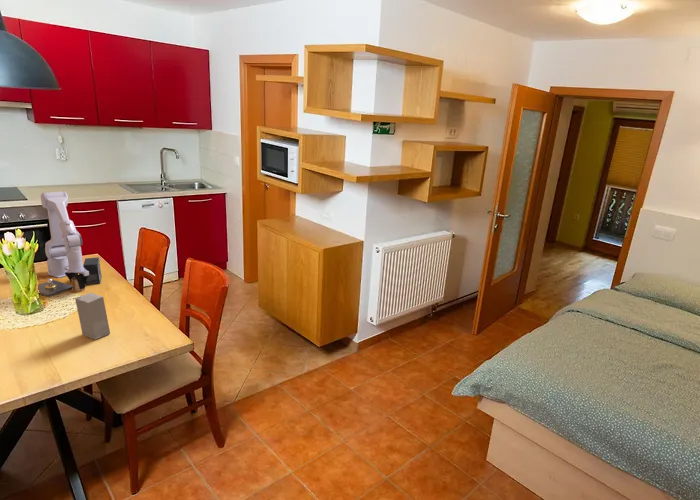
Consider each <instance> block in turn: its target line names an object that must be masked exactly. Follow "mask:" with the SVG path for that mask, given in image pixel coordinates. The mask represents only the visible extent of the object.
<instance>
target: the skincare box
mask: <svg viewBox="0 0 700 500" xmlns="http://www.w3.org/2000/svg"><path fill="white" fill-rule="evenodd" d="M74 299H75V305H76V309H77V314H78V319H79V324H80V329H81V334H82V335H83V336H86V337H88V338H89V339H90V340H91V339H92V340H94V341H95V340H98V339H101V338H103V337H106V336H108V335H110V334H111V331H110V330H111V329H110V326H109V325H110V324H109V319H108V315H107V308H106V306H105V305H106V303H105V299H104V296H102V295H99V294H96V293H94V292H89V293H85V294H83V295H80V296H77V297H75V298H74Z"/></svg>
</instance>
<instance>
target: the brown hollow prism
mask: <svg viewBox="0 0 700 500" xmlns="http://www.w3.org/2000/svg"><path fill="white" fill-rule="evenodd" d="M71 282H72V285H71V286H72V289H71V290H72V292H74V293H81V292H84V291H85V290H86V287H85V288H83V289H80V288H79V284H78V281H77V279H76V278H75V277H72V278H71ZM71 282H70V283H71Z"/></svg>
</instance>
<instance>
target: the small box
mask: <svg viewBox="0 0 700 500" xmlns="http://www.w3.org/2000/svg"><path fill="white" fill-rule="evenodd" d="M100 261H101V260H100V257H89V258H85V259H84V262H83V267H84V268H85V269H86V270H87V271H89V276H88V278H87V280H86V285H85V286H91V285H101V283H102V282H101V280H102V276H103V275H102V271H101V262H100Z"/></svg>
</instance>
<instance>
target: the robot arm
mask: <svg viewBox="0 0 700 500" xmlns="http://www.w3.org/2000/svg"><path fill="white" fill-rule="evenodd" d="M40 200H41V201H40V202H41V206H42V208H44V209H46V210H47V215H48V223H49V232H50V240H48V241H46V242H45V244H44V245H45V247H44V252H45V256H46V257H47V260H46V265H47V269H48V270H47V273H46V275H49V276H51V277H54V278H58V279H59V278H63V277H67V278H68V280H69V282H70V285H71V286H72V282H71V278H72V277H75V278H76V279H77V281H78V284H79V288H80V289H83V288H85V289H86V286H87V285H86V280H87V278H88V276H89V271H87V270H86V269H85V268H84V267H83V264H84V262H83V254H82V247H81V246H83V239H82V235H81V233H79V231H78V230H77V229H76V226H75V224H74V221H73V220H71V219H70V217H69V214H68V210H67V207H68V203H69V196H68V193H67V192H66V191H65V190H63V191H62V190H61V191H51V192H42V193H41V194H40Z"/></svg>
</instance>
